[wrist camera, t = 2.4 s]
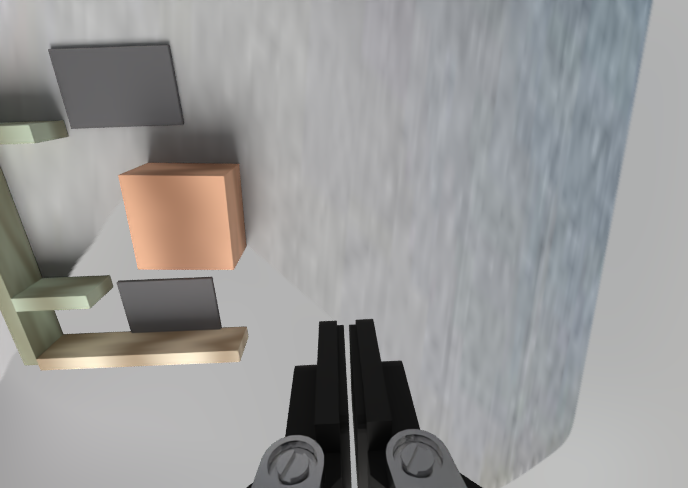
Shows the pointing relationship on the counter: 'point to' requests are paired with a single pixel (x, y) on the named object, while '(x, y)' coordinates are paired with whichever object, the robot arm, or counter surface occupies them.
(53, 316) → the green-grey pronged frame
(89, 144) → the counter surface
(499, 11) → the counter surface
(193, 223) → the block
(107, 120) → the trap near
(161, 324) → the plate
